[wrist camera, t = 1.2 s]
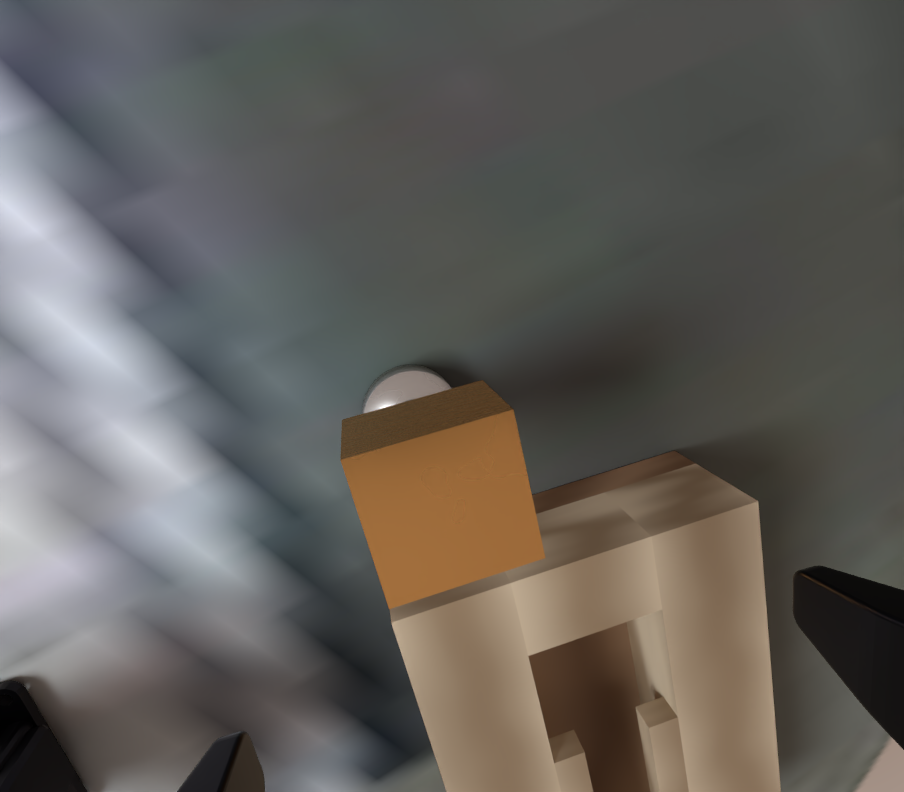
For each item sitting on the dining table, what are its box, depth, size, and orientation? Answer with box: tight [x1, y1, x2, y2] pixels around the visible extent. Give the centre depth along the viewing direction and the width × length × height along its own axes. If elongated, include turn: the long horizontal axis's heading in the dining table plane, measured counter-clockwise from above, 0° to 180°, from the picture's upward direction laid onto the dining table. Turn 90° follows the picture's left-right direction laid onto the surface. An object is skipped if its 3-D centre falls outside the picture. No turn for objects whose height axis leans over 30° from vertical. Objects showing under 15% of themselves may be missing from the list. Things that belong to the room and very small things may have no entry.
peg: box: [341, 365, 545, 609], centre depth 17 cm, size 4×4×8 cm
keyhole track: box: [390, 451, 781, 792], centre depth 23 cm, size 13×20×5 cm, turn 13°
